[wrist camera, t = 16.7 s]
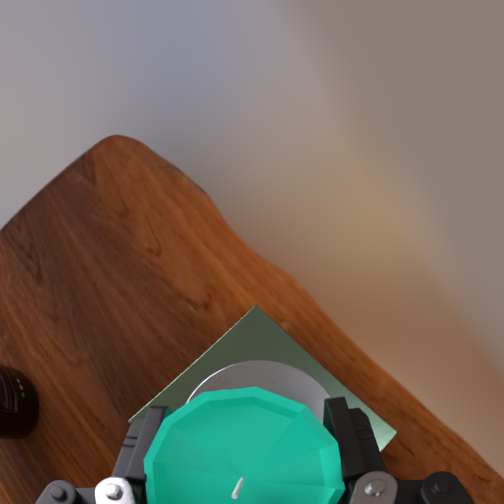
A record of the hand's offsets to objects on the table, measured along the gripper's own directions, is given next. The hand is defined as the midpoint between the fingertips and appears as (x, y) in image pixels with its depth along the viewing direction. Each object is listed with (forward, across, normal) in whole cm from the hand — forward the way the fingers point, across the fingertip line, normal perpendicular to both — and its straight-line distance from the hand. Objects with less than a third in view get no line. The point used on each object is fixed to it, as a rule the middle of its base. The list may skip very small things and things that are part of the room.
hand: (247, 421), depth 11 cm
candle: (+4, 0, +7) cm, 8 cm away
